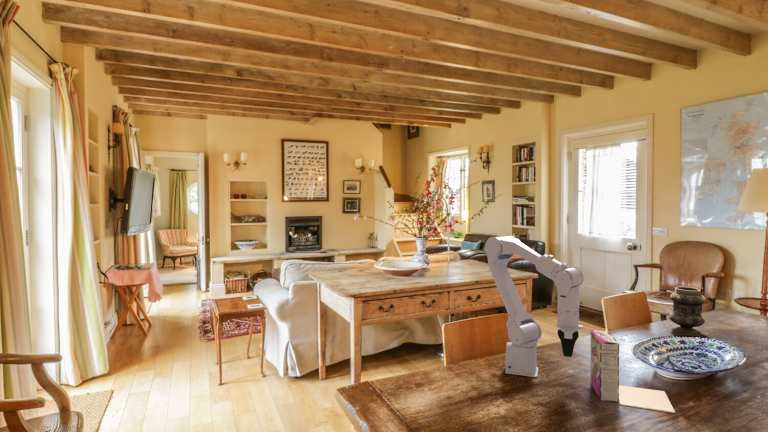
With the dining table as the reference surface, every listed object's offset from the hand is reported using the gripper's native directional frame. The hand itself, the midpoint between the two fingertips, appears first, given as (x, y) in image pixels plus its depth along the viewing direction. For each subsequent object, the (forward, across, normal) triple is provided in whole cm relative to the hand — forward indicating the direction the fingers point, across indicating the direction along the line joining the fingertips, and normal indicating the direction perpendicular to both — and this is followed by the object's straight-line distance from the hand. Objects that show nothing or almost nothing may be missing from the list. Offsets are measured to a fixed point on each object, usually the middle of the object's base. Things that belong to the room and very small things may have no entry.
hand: (567, 355), depth 129 cm
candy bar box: (+10, 0, -10) cm, 14 cm away
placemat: (+9, 0, -19) cm, 21 cm away
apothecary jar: (+10, +73, -46) cm, 87 cm away
